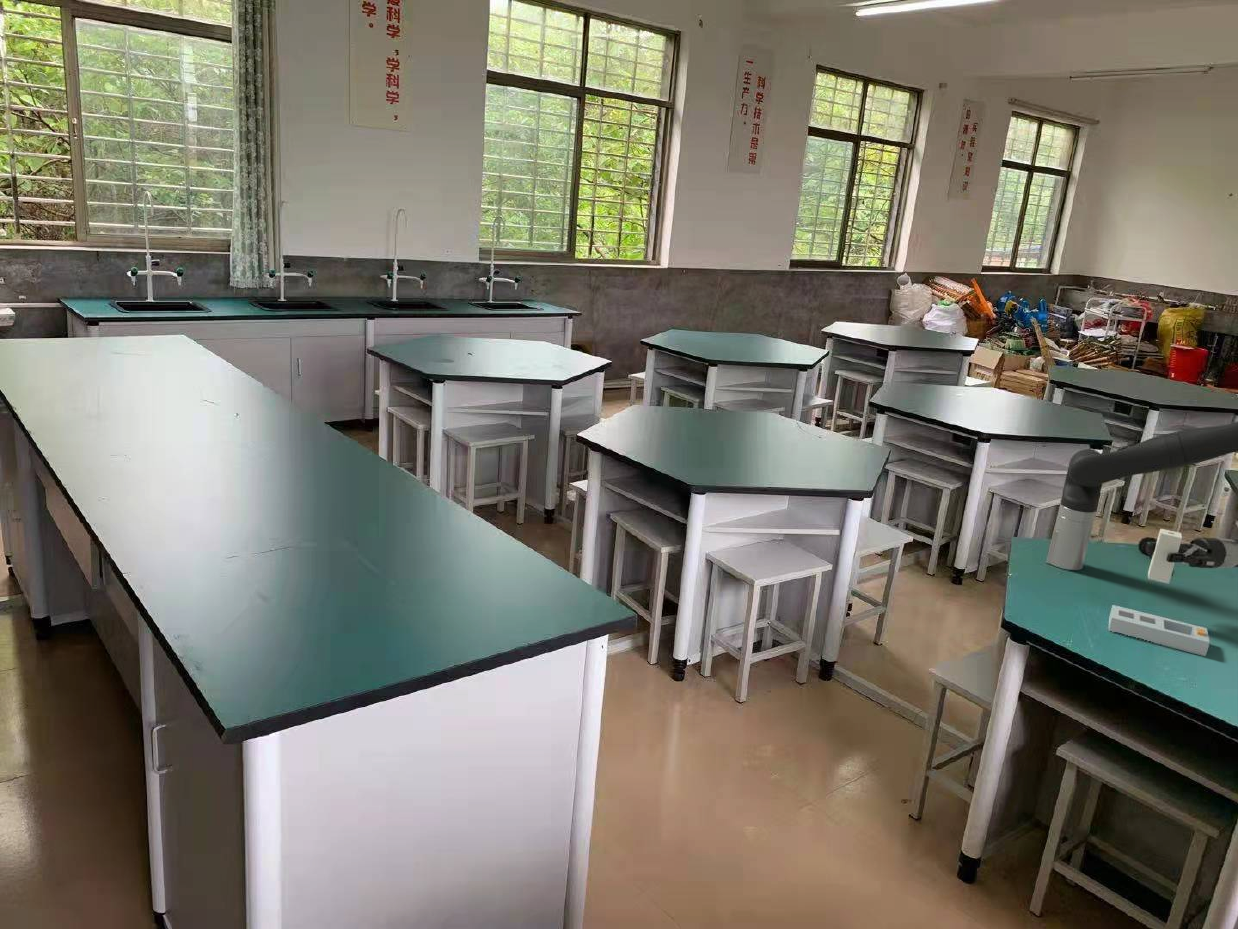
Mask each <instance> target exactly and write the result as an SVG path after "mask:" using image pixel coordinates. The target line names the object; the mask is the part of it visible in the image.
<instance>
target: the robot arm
mask: <svg viewBox="0 0 1238 929" xmlns="http://www.w3.org/2000/svg"><path fill="white" fill-rule="evenodd" d="M1237 452H1238V421H1235V422H1232V423H1227V424H1223V425H1216V426H1206V427H1205V426H1204V427H1198V428H1191V429H1189V428H1188V429H1184V430H1178V431H1173V432H1169V433H1165V434H1161V435H1157V436H1155V437H1154V436H1153V437H1151V438H1148V439H1145V440H1143V441H1141V442H1139V443H1136V444H1134V445H1131V446H1129V447H1127V448H1124V449H1120V450H1116V451H1115V450H1114V451H1109V452H1103V453H1100V452H1099V451H1097V450H1095V449H1089V448H1088V449H1087V448H1086V449H1082V450H1079V451H1077V452H1075V453H1074V454H1073V456H1072V457H1071V458H1070V460H1069V463H1068V468H1067V471H1066V476H1065V480H1064V486H1063V490H1062V494H1061V499H1060V505H1059V509H1058V512H1057V516H1056V520H1055V524H1054V528H1053V531H1052V535H1051V536H1052V537H1051V540H1050V545H1049V550H1048V553H1047V558H1046V562H1045V563H1046V564H1049V565H1052V566H1054V567H1057V568H1060V569H1063V570H1068V571H1069V570H1070V571H1080V570H1082V569H1083V568H1084V567H1083V566H1084V564H1085V558H1086V555H1087V551H1088V547H1089V542H1090V538H1091V535H1092V532H1093V531H1092V530H1093V526H1094V523H1095V519H1096V514H1097V509H1098V507H1099V502H1100V496H1101V491H1102V489H1103V488H1102V487H1103V484H1106V483H1109V482H1113V481H1116V480H1120V479H1123V478H1126V477H1130V476H1135V475H1142V474H1148V473H1149V474H1151V473H1155V472H1161V471H1165V470H1173V469H1177V468H1182V467H1186V466H1191V465H1196V464H1199V463H1202V462H1206V461H1209V460H1213V459H1216V458H1219V457H1222V456H1226V455H1228V454H1234V453H1237ZM1155 539H1156V542H1157V539H1158V537H1156V538H1155ZM1156 542H1148V543H1147V545H1146V550H1147V551H1154V550H1155V546H1156ZM1166 561H1168V562H1175V563H1181V564H1183V565H1188V566H1189V567H1191V568H1199V569H1227V568H1238V539H1233V538H1232V539H1229V538H1224V537H1196V538H1193V540H1191V541H1190V542H1186V541H1181V544H1180V547H1179V550H1178V553H1168V556H1167V559H1166Z"/></svg>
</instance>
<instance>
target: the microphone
mask: <svg viewBox="0 0 1238 929" xmlns="http://www.w3.org/2000/svg"><path fill="white" fill-rule="evenodd" d="M1148 542H1156V538H1155V537H1149V536H1145V537H1143V538H1141V539H1140V541H1138V544H1137V545H1138V551H1139V552H1140V553H1142V552H1143V553H1145V554H1144V555H1148V556H1149V559H1150V560H1152V557H1153V553H1154V551H1147V550H1146V545H1147V543H1148ZM1143 553H1142V554H1143Z"/></svg>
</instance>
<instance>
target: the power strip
mask: <svg viewBox="0 0 1238 929" xmlns="http://www.w3.org/2000/svg"><path fill="white" fill-rule="evenodd" d="M1108 630H1109V631H1108V632H1110V631H1112V632H1111V633H1114V632H1119V633H1122V634H1125V635H1124V636H1126V635H1128V636H1127V637H1129V636H1134V637H1136V638H1135V639H1137V638H1141V639H1144V640H1143V641H1145V640H1147V641H1146V642H1149V641H1151V642H1150V643H1152V642H1153V644H1156V645H1160V644H1161V646H1164V647H1169V648H1172V649H1176V650H1181V651H1184V652H1188V653H1191V654H1195V655H1200V656H1203V657H1206V656H1207V653H1208V649H1209V646H1210V643H1211V642H1210V638H1209V633H1208V628H1207V627H1203V626H1199V625H1195V624H1191V623H1187V622H1185V621H1184V622H1183V621H1179V620H1176V619H1175V620H1174V619H1171V618H1168V617H1163V616H1159V615H1156V614H1155V615H1154V614H1151V613H1146V612H1142V611H1139V610H1135V609H1131V608H1127V607H1123V606H1118V605H1114V604H1112V606H1111V609H1110V614H1109V617H1108ZM1122 634H1121V635H1122ZM1141 639H1140V640H1141Z"/></svg>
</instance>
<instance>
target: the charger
mask: <svg viewBox="0 0 1238 929" xmlns="http://www.w3.org/2000/svg"><path fill="white" fill-rule="evenodd" d="M1157 538H1158V539H1157V542H1156V546H1155V550H1154V553H1153V557H1152V560H1151V559H1150V560H1151V561H1150V565H1149V567H1148V571H1147V580H1152V581H1156V582H1161V583H1163V584H1168V585H1169V584H1170V581H1171V577H1172V574H1173V570H1174V567H1175V563H1176V562H1168V561H1166V559H1167V556H1168V553H1178V550H1179V547H1180V544H1181V542H1182V539H1183V534H1182V533H1181V532H1179V531H1173V530H1168V529H1163V528H1160V529H1159V533H1158V535H1157Z"/></svg>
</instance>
